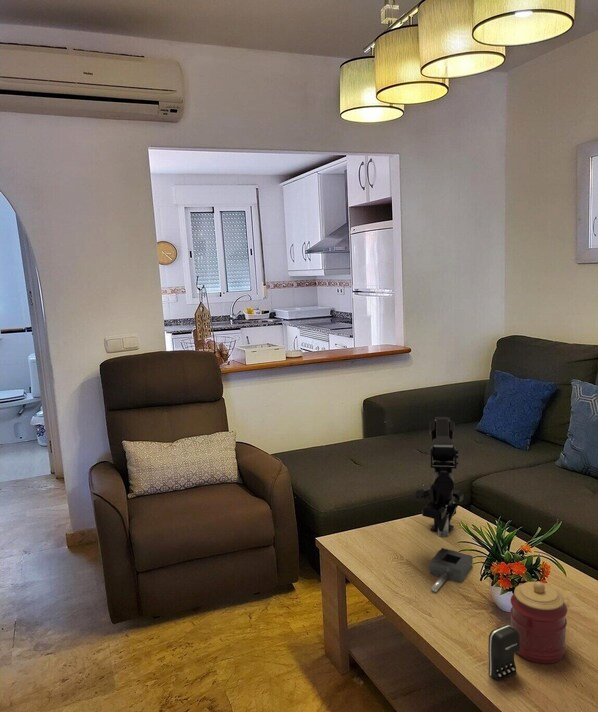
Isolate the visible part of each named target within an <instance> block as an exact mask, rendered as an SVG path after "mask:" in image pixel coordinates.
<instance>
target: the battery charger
mask: <svg viewBox="0 0 598 712" xmlns="http://www.w3.org/2000/svg"><path fill="white" fill-rule="evenodd" d="M519 649H520V638H519V633H518V632H517V631H516V630H515V629H513V628H512V627H511V624H510V625H509V624H504V625H500V626H499V627H496V628H495V629H493V630H491V631H490V633H489V635H488V675H489V676H490V677H491V678H493V679H495V680H497V681H502V680H504V679H506V678H509V677H511V676H513V675H515V674H516V673H517V666H516V662H515V661H516V660H515V654H517V652H518V651H519Z"/></svg>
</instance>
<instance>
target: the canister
mask: <svg viewBox="0 0 598 712" xmlns="http://www.w3.org/2000/svg"><path fill="white" fill-rule="evenodd" d="M510 604H511V606H512V607H511V608H510V626H511V627H512V628H513V629H515V630H516V631H517V632H518V633H519V638H520V649H519V651H518V652H516V654H518V655H519V656H520V657H522V658H524V659H525V660H528V661H531V662H532V663H538V664H554V663H557V662H559V661H561V660H562V659H563V658H564V656H565V654H566V650H567V642H566V635H567V633H566V632H567V625H568V621H567V617H566V616H567V614H568V606H567V604H566V603H565V598H564V596H563V594H562V593H561V592H560V591H559V590H557V589H556V588H554V587H553V586H552V585H549V584H547V583H545V582H542V581H538V580H537V581H528V582H527V581H526V582H524V583H520V584H519V585H517V586H516V587H515V588H514V591H513V594H512V595H511V597H510Z"/></svg>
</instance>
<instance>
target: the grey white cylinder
mask: <svg viewBox="0 0 598 712" xmlns="http://www.w3.org/2000/svg"><path fill="white" fill-rule="evenodd" d="M446 512H448V510H446ZM437 536H438V537H440V538H445V539H446V538H448V537H449V533H448V519H447V522H446V525H445V527H444V530H443V532H441V531H439V529H438V532H437Z"/></svg>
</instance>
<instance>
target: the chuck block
mask: <svg viewBox="0 0 598 712" xmlns="http://www.w3.org/2000/svg"><path fill="white" fill-rule="evenodd" d="M473 558H474V557H473V555H470V554H466V553H462V552H458V551H455V550H451V549H447V548H444V547H441V549H440V550H438V552H437V553H436V554H435V555H434V556H433V558H431V560H430V561H429V574H430V575H433V576H437V577H439V578H438V579H437V580H436V581H435V583H433V585H432V586H431V587H430V591H431V592H432V593H435V594H436V593H437V592H438V590H439V589H440V588H441V587H442V586H443V584H444V583H445V581H447V580H450V581H453V582H457V583H460V584H461V583H462V582H463V581H464V580H465V579H466V578H467V576H468V575H469V573H470V572H471V571H472V570H473V568H474V567H473V566H474V565H471V564H472V563H473ZM473 564H474V563H473Z"/></svg>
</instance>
